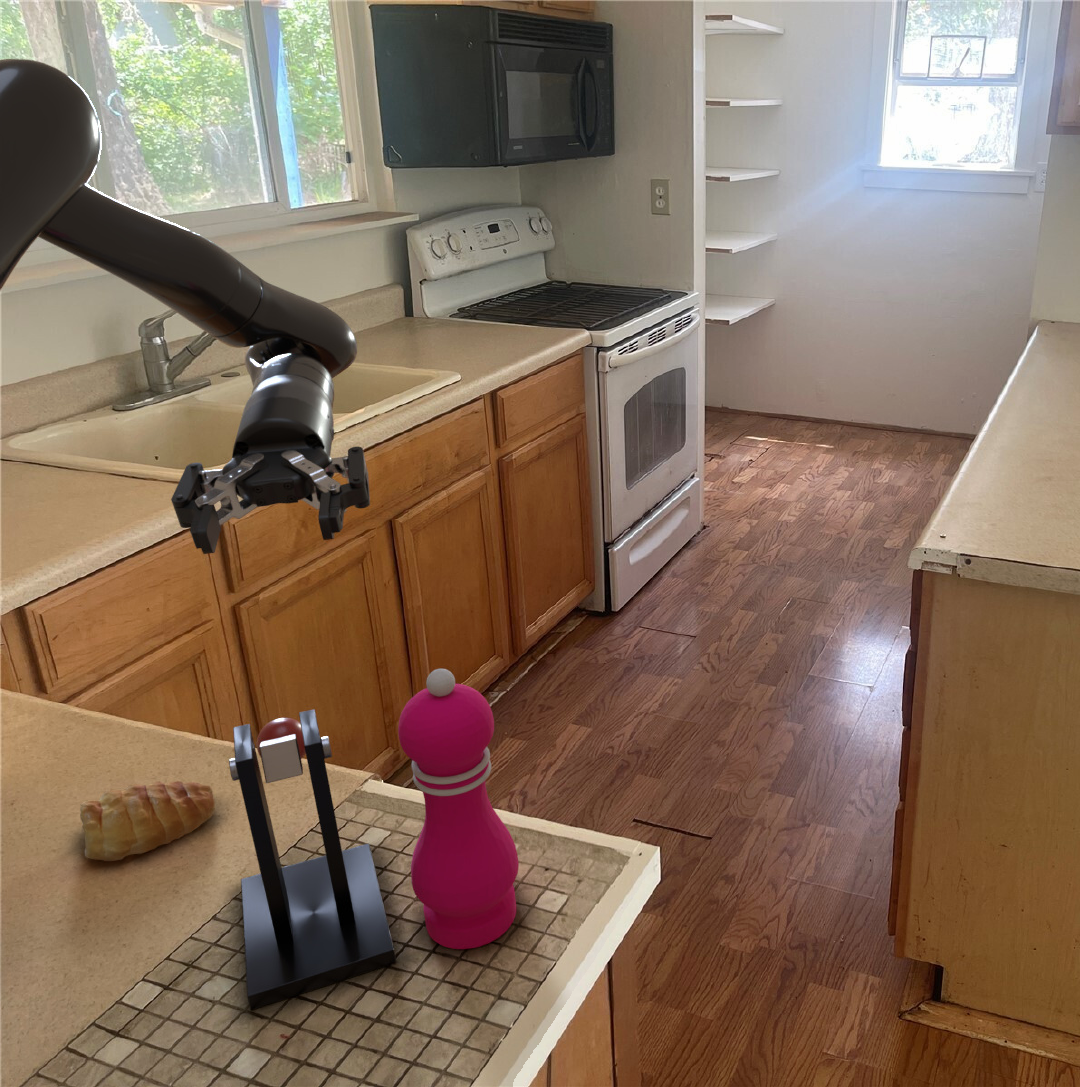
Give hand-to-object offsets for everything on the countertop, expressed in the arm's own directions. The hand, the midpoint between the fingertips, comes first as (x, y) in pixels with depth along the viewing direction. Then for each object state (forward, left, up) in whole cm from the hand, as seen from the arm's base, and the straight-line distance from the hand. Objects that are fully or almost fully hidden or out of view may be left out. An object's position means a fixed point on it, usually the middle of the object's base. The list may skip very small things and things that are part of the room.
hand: (266, 537), depth 76 cm
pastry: (-13, +1, -24) cm, 27 cm away
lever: (-1, -12, -13) cm, 18 cm away
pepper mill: (+9, -20, -24) cm, 32 cm away
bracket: (-1, -16, -23) cm, 28 cm away
